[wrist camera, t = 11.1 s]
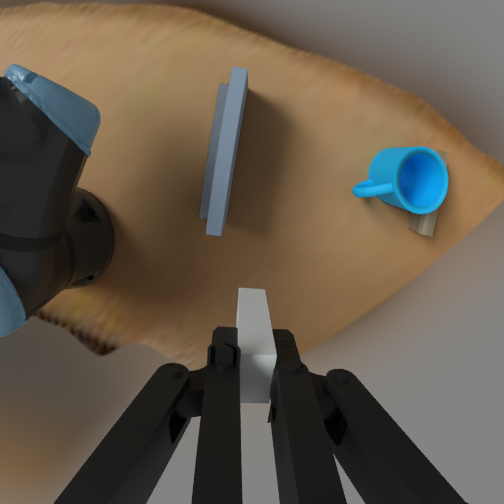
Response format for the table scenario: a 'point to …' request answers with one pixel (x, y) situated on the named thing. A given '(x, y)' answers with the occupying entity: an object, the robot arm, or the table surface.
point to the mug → (406, 179)
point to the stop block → (427, 221)
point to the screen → (223, 151)
